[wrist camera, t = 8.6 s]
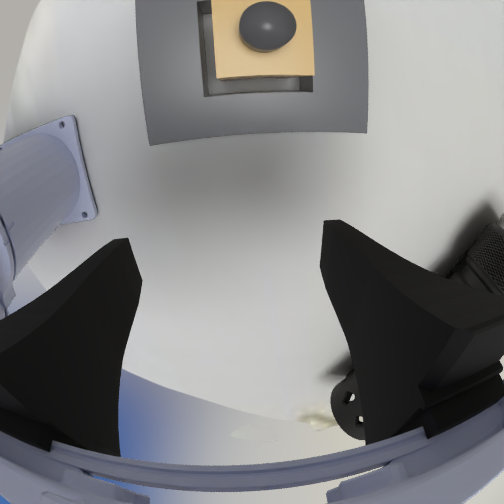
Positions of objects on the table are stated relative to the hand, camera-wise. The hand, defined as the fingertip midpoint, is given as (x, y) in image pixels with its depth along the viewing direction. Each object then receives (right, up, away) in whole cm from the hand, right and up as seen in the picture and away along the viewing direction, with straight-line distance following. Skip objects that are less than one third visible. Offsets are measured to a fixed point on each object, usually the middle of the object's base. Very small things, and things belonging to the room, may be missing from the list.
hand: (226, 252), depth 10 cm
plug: (+1, +12, +3) cm, 13 cm away
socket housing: (+1, +12, +3) cm, 13 cm away
